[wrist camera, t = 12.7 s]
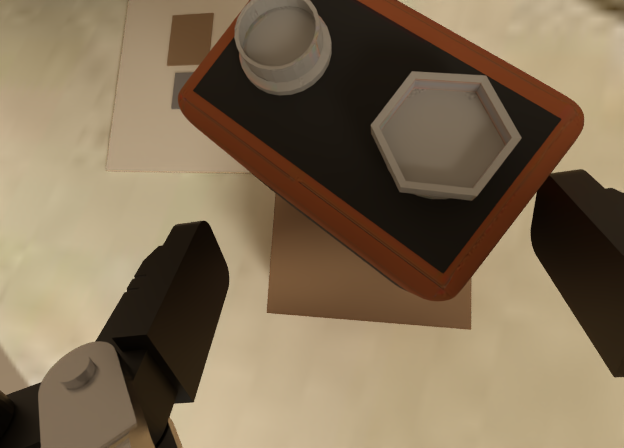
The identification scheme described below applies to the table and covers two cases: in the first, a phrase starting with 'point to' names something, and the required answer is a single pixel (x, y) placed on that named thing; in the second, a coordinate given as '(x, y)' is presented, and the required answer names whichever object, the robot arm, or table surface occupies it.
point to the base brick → (344, 281)
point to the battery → (382, 131)
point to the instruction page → (166, 87)
